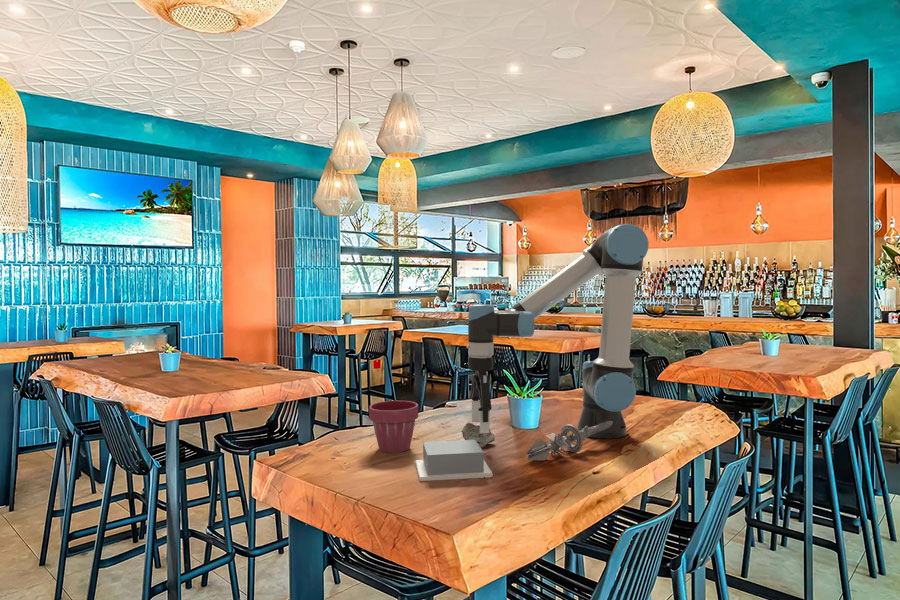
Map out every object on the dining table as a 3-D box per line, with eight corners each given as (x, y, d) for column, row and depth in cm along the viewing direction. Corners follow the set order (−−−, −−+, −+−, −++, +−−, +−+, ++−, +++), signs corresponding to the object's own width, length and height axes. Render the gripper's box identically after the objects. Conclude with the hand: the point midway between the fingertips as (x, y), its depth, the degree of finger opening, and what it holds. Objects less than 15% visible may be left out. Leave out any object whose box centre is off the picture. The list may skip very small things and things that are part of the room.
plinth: (481, 460, 159) (481, 438, 159) (492, 477, 145) (492, 452, 145) (415, 463, 157) (415, 441, 156) (419, 481, 143) (419, 456, 143)
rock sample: (459, 437, 168) (470, 412, 174) (453, 448, 174) (463, 424, 180) (493, 453, 168) (503, 427, 174) (486, 464, 174) (495, 439, 180)
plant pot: (376, 457, 163) (376, 411, 162) (364, 445, 176) (364, 402, 175) (425, 451, 168) (424, 407, 168) (410, 439, 181) (409, 398, 181)
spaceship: (625, 418, 172) (604, 404, 177) (540, 452, 152) (519, 435, 157) (619, 440, 175) (599, 426, 181) (534, 476, 155) (514, 459, 160)
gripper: (461, 351, 186) (461, 417, 187) (475, 361, 162) (475, 438, 162) (485, 351, 187) (484, 417, 188) (502, 361, 163) (501, 437, 163)
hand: (480, 427), depth 175 cm, fingers open, 13 cm apart
